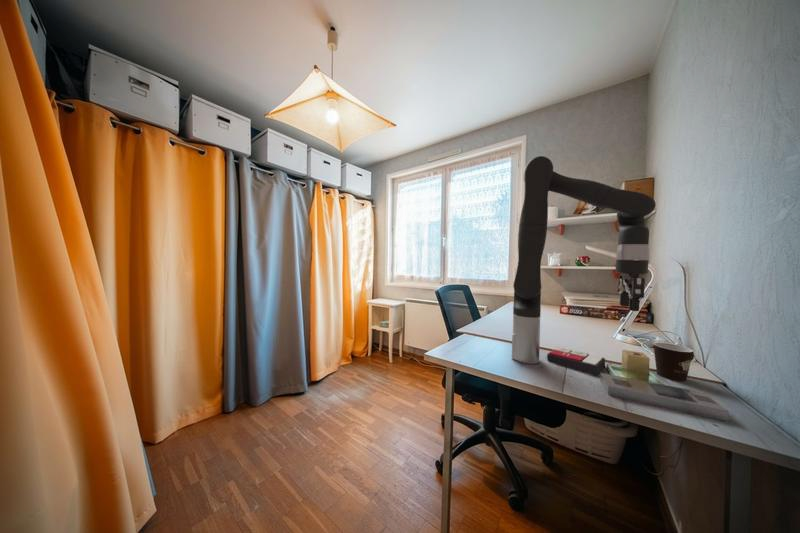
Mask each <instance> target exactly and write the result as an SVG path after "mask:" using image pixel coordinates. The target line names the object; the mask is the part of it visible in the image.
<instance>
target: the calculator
mask: <svg viewBox="0 0 800 533" xmlns="http://www.w3.org/2000/svg"><path fill="white" fill-rule="evenodd" d="M546 357H547V362H550V363H553V364H557V365H559V366H563V367H567V368H570V369H573V370H578V371H580V372H582V373H585V374H589V375H592V376H595V377H598V376H600V373H603V371H604V370H605V369H606V358H605V357H603V356H600V355H595V354H589V353H588V352H585V351H584V352H583V351H580V350H574V349H573V350H572V349H570V348H565V347H562V346H561V347H560V346H557V347H556V348H554V349H553V350H551V351H549V353H547V355H546Z"/></svg>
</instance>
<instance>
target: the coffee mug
mask: <svg viewBox="0 0 800 533" xmlns="http://www.w3.org/2000/svg"><path fill="white" fill-rule="evenodd" d="M652 345H653V353H654V360H655V368H656V374H657V375H658V376H659V377H661V378H664V379H666V380H671V381H674V382H680V383H681V382H683V383H685V382H687V379H688V376H689V372H690V366H691V363H692V361H693V359H694V358H695V353H694V349H691V348H689V347H686V346H684V345H679V344H673V343H668V342H662V341H661V342H660V341H659V342H658V341H657V342H656V341H655V342H652Z"/></svg>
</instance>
